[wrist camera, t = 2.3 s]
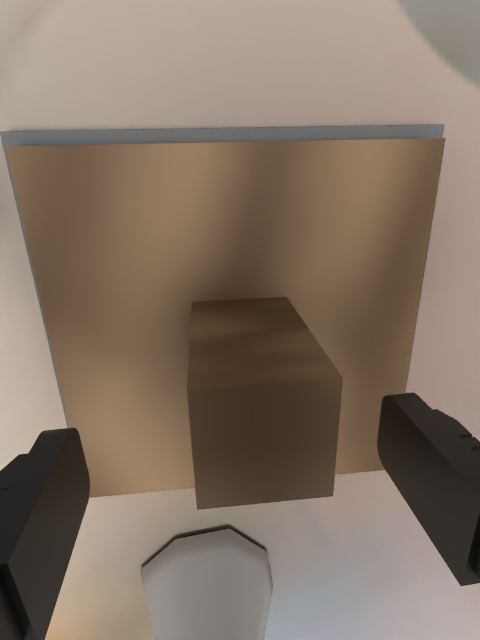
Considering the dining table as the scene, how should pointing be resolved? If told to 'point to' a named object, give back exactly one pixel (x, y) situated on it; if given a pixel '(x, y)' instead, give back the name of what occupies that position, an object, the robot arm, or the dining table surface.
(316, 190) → the walnut lid
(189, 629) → the flask
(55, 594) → the robot arm
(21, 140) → the rubber mat
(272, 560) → the dining table surface
